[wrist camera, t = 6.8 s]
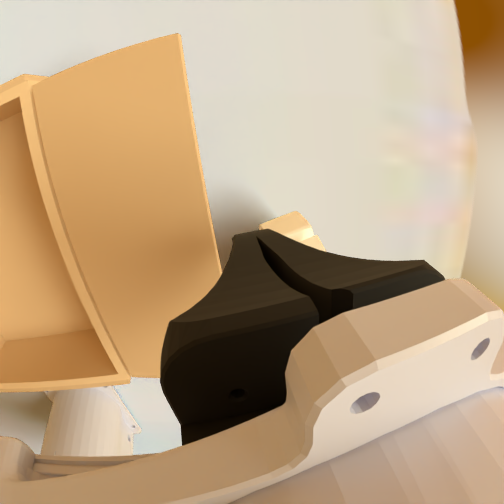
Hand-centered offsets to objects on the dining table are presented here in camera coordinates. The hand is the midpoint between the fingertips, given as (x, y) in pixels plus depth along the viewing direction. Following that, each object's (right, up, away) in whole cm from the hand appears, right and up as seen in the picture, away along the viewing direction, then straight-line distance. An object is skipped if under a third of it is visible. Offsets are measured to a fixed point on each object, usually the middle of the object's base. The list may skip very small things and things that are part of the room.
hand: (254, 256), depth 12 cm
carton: (-17, +1, +7) cm, 18 cm away
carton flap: (-5, 0, +2) cm, 6 cm away
